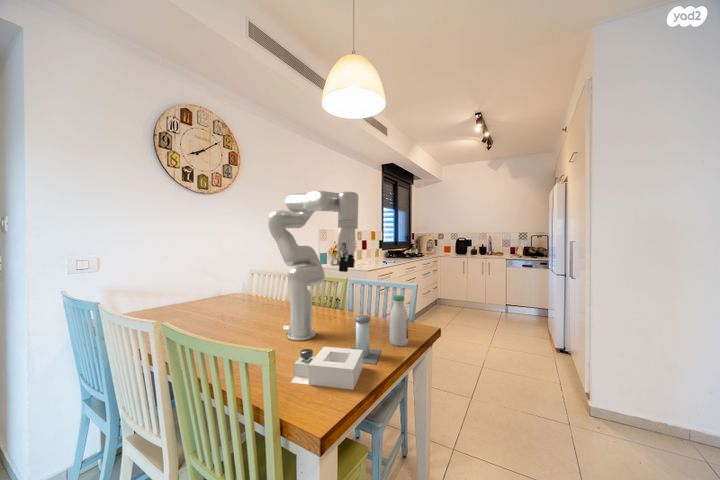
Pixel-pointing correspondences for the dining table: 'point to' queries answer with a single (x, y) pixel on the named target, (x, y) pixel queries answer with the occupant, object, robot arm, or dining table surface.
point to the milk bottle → (398, 322)
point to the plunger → (306, 354)
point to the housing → (330, 368)
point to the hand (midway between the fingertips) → (346, 269)
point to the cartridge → (362, 334)
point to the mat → (371, 356)
